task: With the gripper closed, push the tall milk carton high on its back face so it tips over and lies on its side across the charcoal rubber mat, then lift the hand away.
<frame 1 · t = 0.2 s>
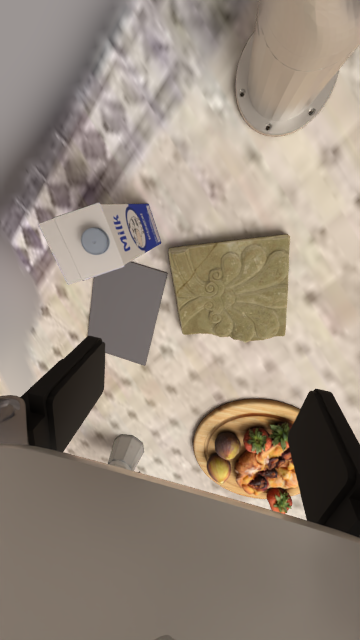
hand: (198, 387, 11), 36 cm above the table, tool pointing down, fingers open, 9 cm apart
coffee maker: (133, 445, 70), on the table
wooden plate with food: (258, 447, 62), on the table
milk carton: (138, 229, 45), on the table
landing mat: (123, 313, 52), on the table
decorative tile: (229, 290, 47), on the table
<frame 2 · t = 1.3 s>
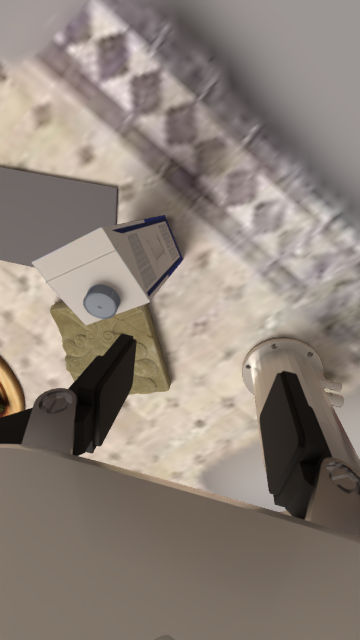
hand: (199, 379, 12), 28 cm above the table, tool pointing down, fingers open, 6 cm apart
milk carton: (154, 246, 38), on the table
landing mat: (48, 226, 39), on the table
decorative tile: (113, 342, 47), on the table
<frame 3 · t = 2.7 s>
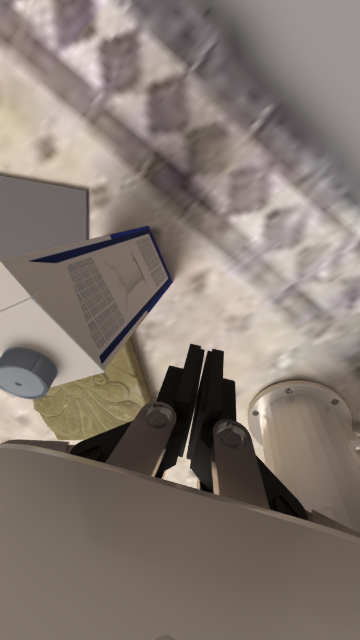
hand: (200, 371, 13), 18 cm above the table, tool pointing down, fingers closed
milk carton: (136, 265, 30), on the table
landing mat: (5, 238, 31), on the table
decorative tile: (90, 377, 39), on the table
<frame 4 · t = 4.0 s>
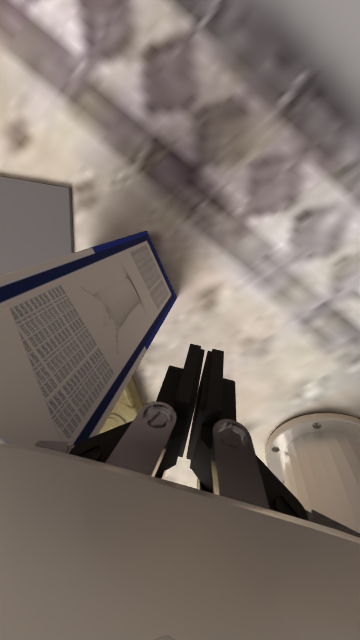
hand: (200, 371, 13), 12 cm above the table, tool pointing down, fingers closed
milk carton: (132, 278, 25), on the table
decorative tile: (82, 404, 34), on the table
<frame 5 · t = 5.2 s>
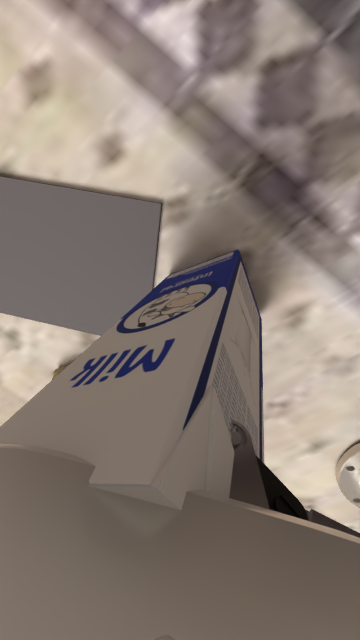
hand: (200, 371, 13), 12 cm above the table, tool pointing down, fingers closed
milk carton: (214, 296, 24), on the table, touching gripper
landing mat: (48, 261, 25), on the table
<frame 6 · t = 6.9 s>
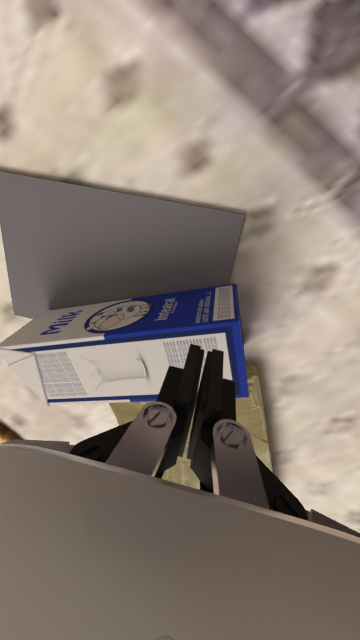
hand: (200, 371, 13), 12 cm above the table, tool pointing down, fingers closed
milk carton: (244, 336, 20), point 4 cm above the table, touching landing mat
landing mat: (111, 272, 24), on the table
decorative tile: (190, 431, 32), on the table
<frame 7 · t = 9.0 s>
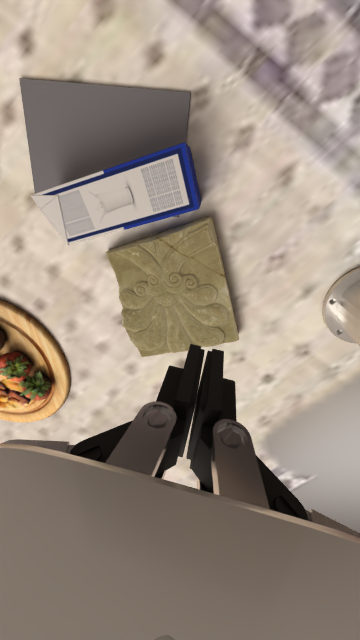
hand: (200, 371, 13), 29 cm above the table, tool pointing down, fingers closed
wooden plate with food: (3, 361, 55), on the table
milk carton: (196, 176, 31), point 4 cm above the table, touching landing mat
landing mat: (105, 152, 35), on the table
decorative tile: (172, 292, 43), on the table
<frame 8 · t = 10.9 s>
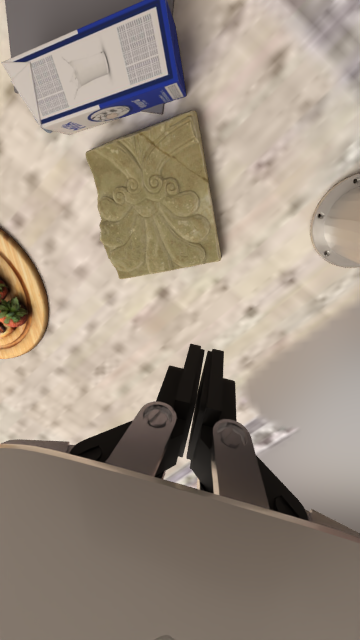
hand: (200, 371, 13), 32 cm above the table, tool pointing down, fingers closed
milk carton: (178, 51, 29), point 4 cm above the table, touching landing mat
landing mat: (87, 35, 33), on the table
decorative tile: (154, 208, 41), on the table
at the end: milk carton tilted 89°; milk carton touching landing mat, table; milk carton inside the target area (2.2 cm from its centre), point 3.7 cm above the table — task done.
